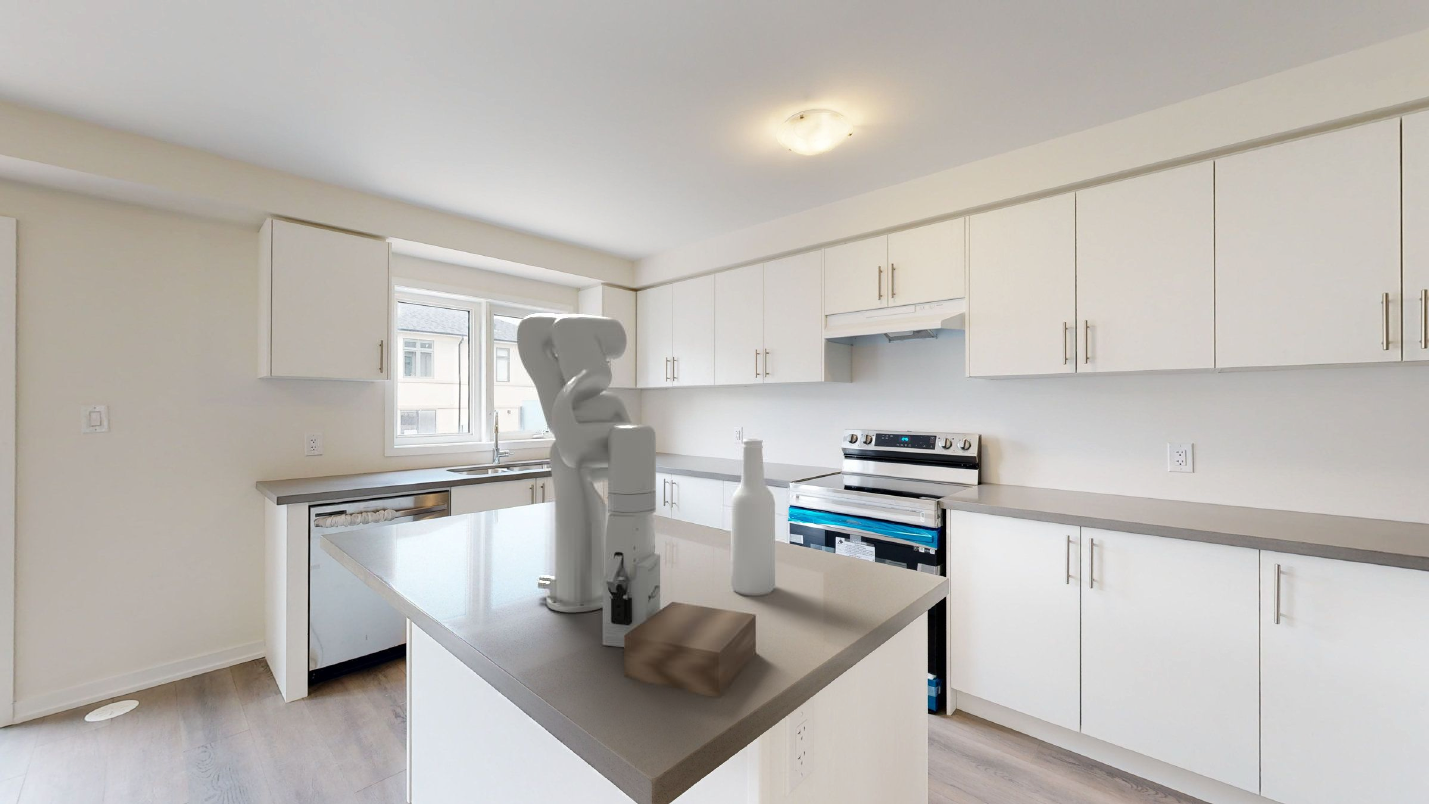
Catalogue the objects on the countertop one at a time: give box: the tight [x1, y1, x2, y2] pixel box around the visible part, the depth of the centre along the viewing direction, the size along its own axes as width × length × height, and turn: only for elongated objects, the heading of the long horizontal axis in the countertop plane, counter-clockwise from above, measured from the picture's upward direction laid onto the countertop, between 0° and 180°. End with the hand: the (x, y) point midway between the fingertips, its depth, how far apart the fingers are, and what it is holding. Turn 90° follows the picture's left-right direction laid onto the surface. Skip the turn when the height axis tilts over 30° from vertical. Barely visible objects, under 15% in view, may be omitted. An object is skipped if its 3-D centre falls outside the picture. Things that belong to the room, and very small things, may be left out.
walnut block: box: [623, 601, 757, 699], centre depth 80 cm, size 14×14×6 cm
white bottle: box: [730, 438, 776, 597], centre depth 112 cm, size 9×9×30 cm
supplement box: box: [602, 553, 661, 648], centre depth 88 cm, size 7×7×13 cm
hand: (632, 613), depth 88 cm, fingers closed on supplement box, 7 cm apart
